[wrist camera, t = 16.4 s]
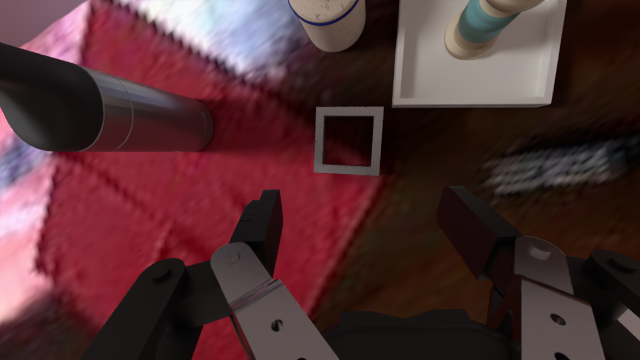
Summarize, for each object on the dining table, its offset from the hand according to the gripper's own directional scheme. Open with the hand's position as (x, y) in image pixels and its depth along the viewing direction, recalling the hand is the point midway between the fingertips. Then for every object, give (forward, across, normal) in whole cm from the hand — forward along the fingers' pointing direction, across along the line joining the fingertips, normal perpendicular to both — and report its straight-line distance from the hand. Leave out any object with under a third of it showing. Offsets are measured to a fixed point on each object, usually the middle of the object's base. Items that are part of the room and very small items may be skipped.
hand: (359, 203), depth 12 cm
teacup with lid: (+32, 0, -11) cm, 34 cm away
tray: (+26, -18, -8) cm, 33 cm away
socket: (+25, -3, +6) cm, 25 cm away
